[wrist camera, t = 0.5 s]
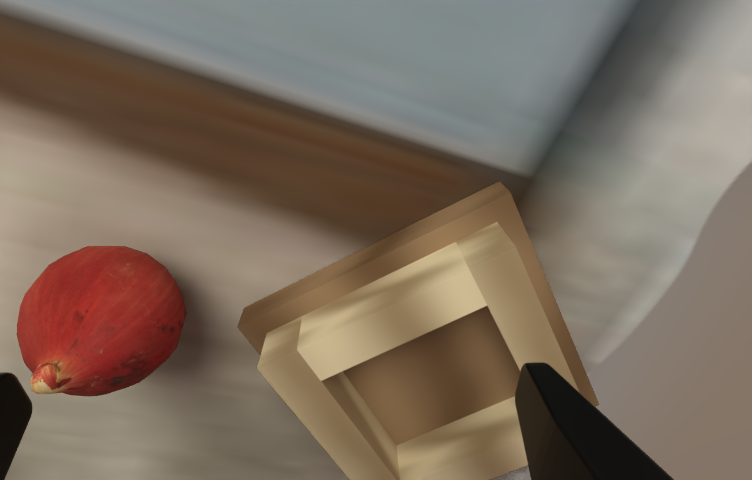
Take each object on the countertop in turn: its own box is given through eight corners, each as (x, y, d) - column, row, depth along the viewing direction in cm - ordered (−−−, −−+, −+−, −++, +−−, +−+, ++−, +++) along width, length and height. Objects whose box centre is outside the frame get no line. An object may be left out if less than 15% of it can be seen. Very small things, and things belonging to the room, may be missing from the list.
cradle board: (372, 471, 29) (376, 537, 25) (244, 308, 23) (224, 361, 20) (585, 384, 27) (623, 442, 23) (499, 181, 21) (531, 214, 17)
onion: (230, 273, 22) (173, 391, 15) (159, 341, 24) (76, 479, 17) (127, 192, 20) (5, 284, 13) (56, 272, 22) (-88, 394, 15)
